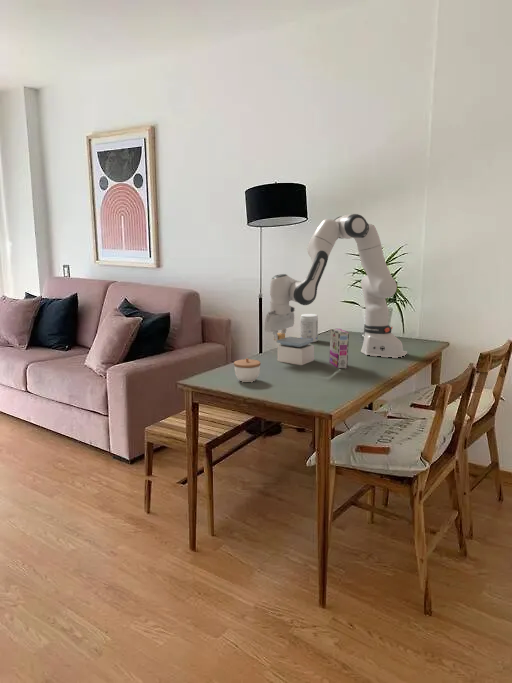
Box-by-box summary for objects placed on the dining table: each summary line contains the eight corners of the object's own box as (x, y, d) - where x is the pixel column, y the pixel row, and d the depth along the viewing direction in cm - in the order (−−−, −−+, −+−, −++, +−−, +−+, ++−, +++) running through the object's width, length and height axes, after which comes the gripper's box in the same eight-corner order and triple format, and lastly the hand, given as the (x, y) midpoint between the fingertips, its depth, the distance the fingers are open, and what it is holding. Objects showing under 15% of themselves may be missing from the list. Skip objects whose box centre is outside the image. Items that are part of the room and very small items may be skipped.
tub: (313, 362, 247) (314, 345, 245) (301, 366, 238) (301, 349, 237) (290, 358, 254) (290, 341, 253) (277, 362, 246) (277, 345, 244)
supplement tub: (309, 338, 302) (309, 313, 299) (321, 341, 295) (321, 315, 292) (296, 340, 296) (297, 314, 293) (308, 343, 289) (309, 316, 286)
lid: (313, 343, 246) (313, 335, 245) (300, 347, 237) (300, 339, 236) (282, 339, 255) (282, 331, 255) (269, 343, 247) (269, 335, 246)
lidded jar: (235, 377, 221) (234, 355, 219) (260, 377, 221) (260, 355, 219) (233, 384, 211) (232, 361, 209) (260, 384, 210) (260, 361, 209)
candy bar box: (348, 369, 234) (349, 332, 231) (337, 369, 233) (338, 332, 230) (339, 363, 245) (340, 328, 242) (328, 363, 244) (329, 328, 241)
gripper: (272, 312, 237) (272, 343, 240) (296, 307, 253) (296, 336, 256) (261, 311, 240) (261, 341, 243) (285, 306, 257) (285, 334, 259)
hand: (279, 338), depth 250 cm, fingers closed on lid, 3 cm apart
